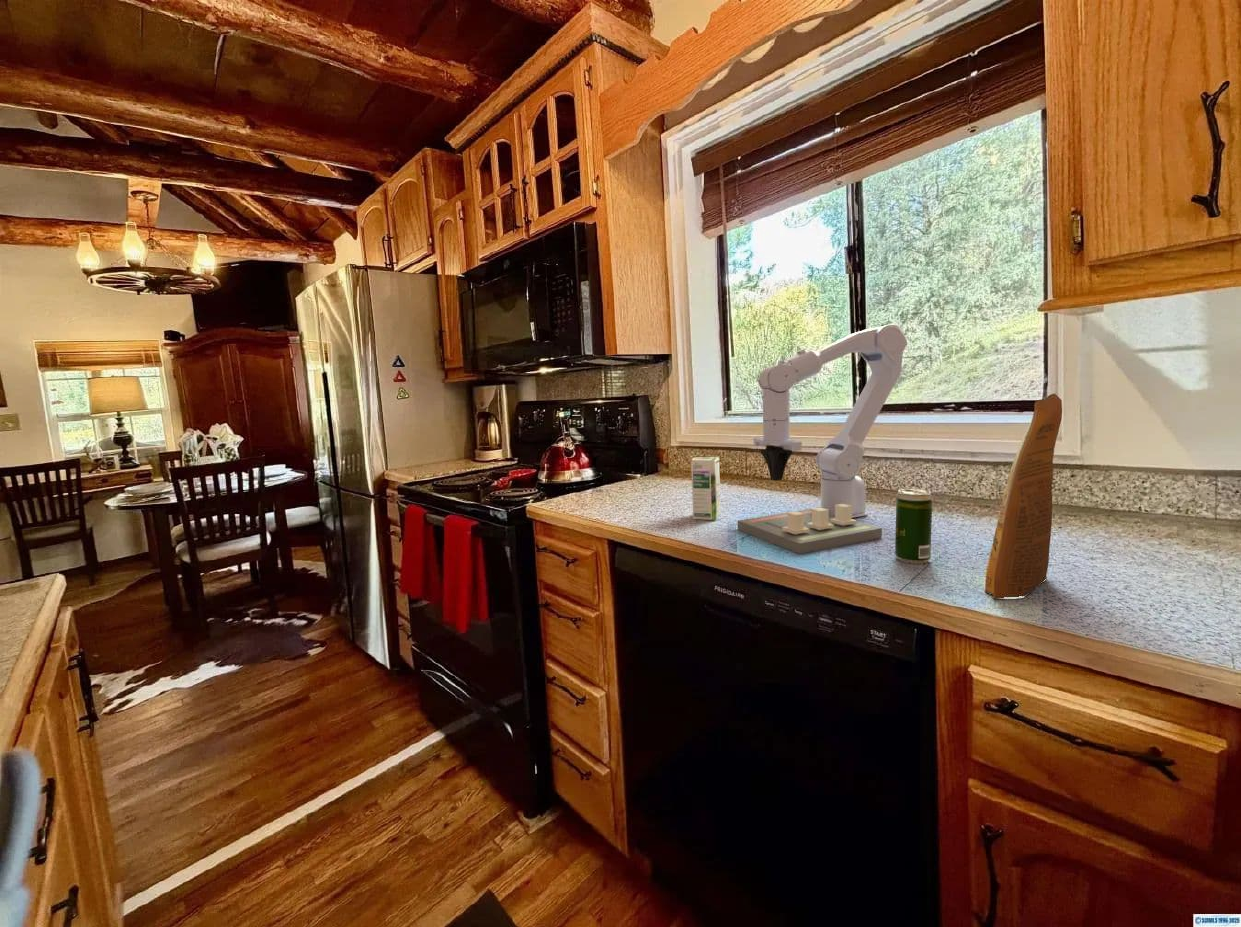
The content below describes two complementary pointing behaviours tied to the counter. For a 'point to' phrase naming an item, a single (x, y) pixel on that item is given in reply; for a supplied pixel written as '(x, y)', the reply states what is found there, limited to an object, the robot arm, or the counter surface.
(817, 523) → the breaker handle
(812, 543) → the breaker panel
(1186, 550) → the counter surface
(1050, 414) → the pancake mix bag
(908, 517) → the beer can
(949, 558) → the counter surface
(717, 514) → the syrup box
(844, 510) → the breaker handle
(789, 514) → the breaker handle
